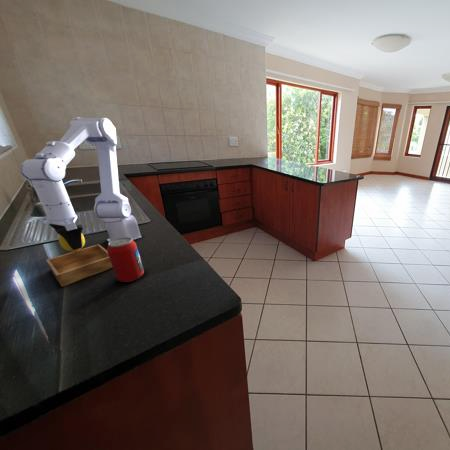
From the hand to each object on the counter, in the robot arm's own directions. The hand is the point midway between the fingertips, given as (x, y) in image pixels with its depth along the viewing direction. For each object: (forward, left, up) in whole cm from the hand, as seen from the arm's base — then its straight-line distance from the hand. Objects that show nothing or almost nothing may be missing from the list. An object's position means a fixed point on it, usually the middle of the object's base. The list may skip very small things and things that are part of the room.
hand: (74, 245), depth 72 cm
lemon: (0, 0, -2) cm, 2 cm away
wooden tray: (0, 0, -8) cm, 8 cm away
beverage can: (-7, +17, -8) cm, 20 cm away
